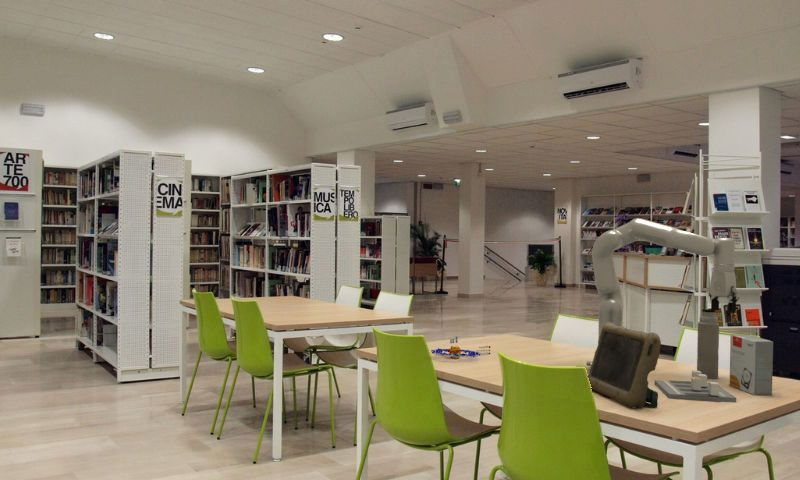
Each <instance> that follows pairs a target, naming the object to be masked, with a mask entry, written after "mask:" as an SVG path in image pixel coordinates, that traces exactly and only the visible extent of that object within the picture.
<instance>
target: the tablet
mask: <svg viewBox="0 0 800 480" xmlns="http://www.w3.org/2000/svg"><path fill="white" fill-rule="evenodd" d="M598 338H599V340H597V347H596V350H595V351H594V355H593V359H592V361H591V362H592V365H591V366H589V367H590V369H589V372H588V374H587V377H588V378H589V381H590V384H591V387H592V389H591V390H593V391H595V392H596V393H600V394H602V395H604V396H606V397H609V398H610V399H612V400H614V401H616V402H619V403H621V404H624V405H625V406H627V407H629V408H634V409H636V410H639V409H641V408H643V407H644V406H645V405H646V403H648V404H650V406H651V407H653V408H658V405H659V402H658V398H659V393H658V392H657V391H656V390H653V389H652V388H649V381H648V377H649V374H651V372H652V371H655V370H656V368H657V364H658V360H659V358H660V355H661V354H660V353H661V352H660V350H661V345H662V342H661V338H660V335H659V334H658V333H656V332H645V331H641V330H635V329H632V328H631V329H630V328H627V327H626V328H625V326H623V325H622V326H616V325H615V324H614V323H612V322H608V323H606V324H605V325H604V326H603V328H602V331H601V334H600V337H599V336H598Z"/></svg>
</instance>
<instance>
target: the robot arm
mask: <svg viewBox="0 0 800 480" xmlns="http://www.w3.org/2000/svg"><path fill="white" fill-rule="evenodd" d="M638 240H641V241H645V242H648V243H652V244H656V245H657V246H658V245H659V246H661V247H664V248H665V247H666V248H672V249H678V250H681V251H685V252H688V253H691V254H696V255H698V256H701V257H702V256H703V257H707V256H713V271H712V273H711V277H710V284H709V286H710V287H709V288H708V289H707V292H708V296H709V300H710V303H711V305H710V309H711V310H715V311H719V310H720V300H719V298H726V299H727V300H728V302H727V313H728V314H736V312H737V303H738V300H739V299H740V295H741V291H739V290H738V289H737V280H736V273H735V257H736V256H735V255H736V253H735V249H736V246H735V245H736V242H735V241H736V240H735V239H734V238H731V237H717V238H710V237H708V236H703V235H699V234H697V233H692V232H688V231H686V230H685V231H684V230H683V229H679V228H676V227H674V226H669V225H666V224H663V223H658V222H656V221H652V220H648V219H645V218H640V217H637V218H632V220H630V221H629V222H627V223H625V224H623V225H621V226H619V227H616V228H614V229H609V230H607V231H605V232H603V233H602V234H601V235H600V236H598V238H597V239H596V240H595V241H594V243H593V247H592V249H591V257H592V258H591V260H592V266H593V274H594V281H595V287H596V289H597V296H598V300H599V305H598V311H597V312H598V313H597V314H598V334H597V335H598V338H597V339H598V340H599V337H600V334H601V331H602V328H603V326H604V325H605V324H606V323H608V322H612V323H614V324H615V325H616V326H623V315H624V314H623V313H624V302H623V298H622V292H621V285H620V280H619V277H618V276H617V274H616V270H615V262H614V253H615V251H616V250H619V249H621V248H624V247H625V246H628V245H629V244H632V243H635V242H636V241H638ZM598 340H597V341H598ZM592 362H593V361H590V360H589V361H587V360H586V366H588V367H591V365H592Z"/></svg>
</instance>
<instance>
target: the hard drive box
mask: <svg viewBox="0 0 800 480" xmlns="http://www.w3.org/2000/svg"><path fill="white" fill-rule="evenodd" d="M729 337H730V340H729V341H730V343H729V344H730V345H729V347H730V349H729V355H730V356H729V386H731V387H733V388H735V389H737V390H738V389H739V390H741V391H744V392H746V393H748V394H750V395H752V396H756V395H757V396H765V395H767V396H768V395H769V396H771V395H773V370H774V369H773V367H774V365H773V362H774V361H773V360H774V341H771V340H769V339H765V338H762V337H757V336H754V335H749V334H730V336H729Z"/></svg>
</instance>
